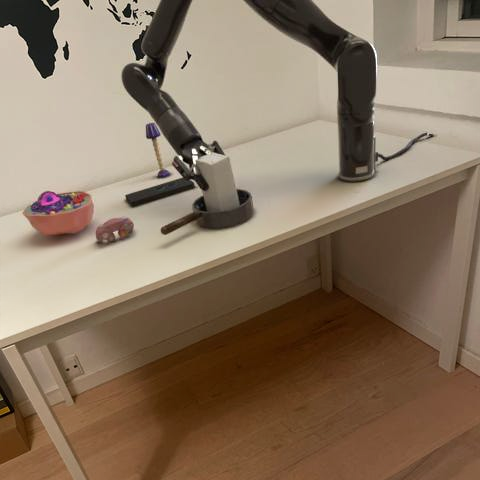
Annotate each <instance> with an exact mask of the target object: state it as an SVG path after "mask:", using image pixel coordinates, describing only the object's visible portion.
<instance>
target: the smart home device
mask: <svg viewBox="0 0 480 480" xmlns="http://www.w3.org/2000/svg"><path fill="white" fill-rule="evenodd" d="M195 188H196V187H195V181H193V180H189V181H186V180H185V179H184V178H183V177H180V178H176V179H174V180H170V181H166V182H164V183H163V182H162V183H160V184H156V185H153V186H150V187H147V188H143V189H140V190H136V191H132V192H130V193H127V194H125V195H124V197H125V201H126V202H127V203H128V204H129V205H130V206H131V207H132V208H135V207H139V206H142V205H145V204H147V203H152V202H156V201H158V200H160V199H164V198H167V197H170V196H173V195H177V194H180V193H184V192H186V191H190V190H193V189H195Z"/></svg>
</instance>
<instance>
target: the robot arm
mask: <svg viewBox="0 0 480 480" xmlns="http://www.w3.org/2000/svg"><path fill="white" fill-rule="evenodd" d="M193 1H194V0H160V1H159V2H158V5H157V7H156V10H155V11H154V14H153V16H152V18H151V20H150V22H149V25H148V26H147V30H146V32H145V34H144V36H143V39H142V41H141V45H140V46H141V47H140V48H141V51H142V53H143V54H144V55H145V56H146V58H145V63H144V64H142V63H138V62H130V63H127V64H126V65H124V67H123V68H122V70H121V74H120V75H121V82H122V86H123V88H124V90H125V91H126V93H127V94H128V95H129V96H130V97H131V98H132V99H133V100H134V101H135V102H136V103H137V104H138V105H139V106H140V107H141V108H142V109H144V111H146V112H147V113H148V114H149V116H150V118H151V119H152V120H153V121H154V123H155V124H156V126H157V128H158V130H159V131H160V133H161V134H162V136H163V137H164V138H165V139H166V141H167V142H168V144H169V145H170V147H171V148H172V149H173V151H174V152H175V153H176V155H175V156H174V157H173V160H172V162H171V165H172V167H173V168H174V169H175V170H176V171H177V172H178V174H179V175H180V176H181V178H184V179H185V180H186V181H189V180H191V181H193V182H194V183H196V185H197V186H198V188H199V189H200V190H201V191H202V190H203V191H207V190H208V188H209V185H208V183H207V182H206V181H205V179H204V178H203V176H202V175H201V174H200V175H199V169H198V164H197V162H196V159H198V158H200V157H203V156H205V155H208V154H210V153H217V154H221V155H225V156H227V155H226V153H225V152H224V150H223V149H222V147H221V145H220V144H219V142H218V141H217V140H213V142H212V143H209V144H208V143H206V142H205V141H204V139H203V138H202V135H201V133H200V132H199V130H198V129H197V128H196V126H194V124H193V122H192V120H191V119H189V117H188V116H187V115H186V113H185V112H184V111H183V110H182V109H181V108H180V106H179V105H178V104H177V102H176V101H175V99H173V97H172V96H171V95H170V93H168V92H167V91H165V90H163V89H162V87H163V84H164V81H165V77H166V72H167V67H168V62H169V58H170V56H171V53H173V50H174V47H175V46H176V43H177V41H178V39H179V37H180V35H181V32H182V30H183V28H184V24H185V21H186V18H187V15H188V13H189V10H190V8H191V5H192V3H193ZM242 1H243V2H244V3H245V4H246V5H247V6H248V7H249V8H250V10H252V11H253V12H254V13H255V14H256V15H257V16H258V17H260V18H261V19H262V20H263V21H265V22H266V23H268V25H270V26H271V27H273V29H275V30H277V31H278V32H280V33H282V34H283V35H284V36H286V37H288V38H289V39H291V40H294V41H295V42H297V43H299V44H301V45H303V46H306V47H307V48H309V49H310V50H312V51H314V52H315V53H317V54H318V55H319V56H320V57H321V58H323V60H324V61H325V62H327V64H329V65H330V66H331V67H332V68H333V70H335V72H336V73H337V74H336V75H337V100H336V114H337V115H336V116H337V117H336V118H337V119H336V121H337V143H338V144H337V145H338V147H337V148H338V170H339V171H338V178H339V179H340V180H342V181H345V182H361V181H366V180H368V179H371V178H372V177H374V176H375V172H376V163H377V162H379V158H380V159H381V160H383V161H388V160H392V159H394V158H396V157H398V156H400V155H401V154H403V153H404V152H406V151H407V150H409V149H410V147H411V146H412V145H413V143H416V142H417V141H419V140H420V139H422V138H424V137H426V136H429V137H430V138H432V137H433V138H434V137H435V135H434V133H432V134H429V135H427V132H428V131H426V132H422V133H421V134H419V135H417V136H416V137H414V138H413V139H411V140H410V141H409V142H408V144H407V145H406V146H404V147H403V148H401V149H400V150H399V151H397V152H395V153H394V154H392V155H389V156H385V155H384V154H382V153H379V152H378V151H376V148H377V147H376V145H377V143H376V142H377V141H376V136H375V99H376V96H377V95H376V94H377V76H378V75H377V71H378V64H377V63H378V60H377V51H376V50H375V48H374V46H373V44H372V43H370V42H369V41H368V40H366V39H363V38H362V37H360V36H358V35H355V34H353V33H352V32H350V31H348V30H346V29H345V28H343V27H342V26H340V25H338V24H337V23H336V22H334V20H332V19H330V18H329V16H327V15H326V14H325V13H324V11H323V10H322V9H321V8H320V7H319V6H318V5H317V4H316V3H315V2H314V1H313V0H242ZM186 164H187V165H188V167H187V165H186Z"/></svg>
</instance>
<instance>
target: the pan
mask: <svg viewBox="0 0 480 480" xmlns="http://www.w3.org/2000/svg"><path fill="white" fill-rule="evenodd" d="M236 190H237V195H238V200H239V204H240V206H238V207H235V208H232V209H229V210H225V211H219V212H207V208H206V204H205V200H204V196H203V195H200V196H199V197H197V198H196V199H195V200H193V202H192V204H191V208H192V212H196V211H201V216H202V217H200V218H198V219H197V220H195V221H194V222H195V224H197V225H198V226H199V227H201V228H203V229H208V230H224V229H229V228H233V227H236V226H239V225H242V224H244V223H245V222H247V221H248V220H250V219H251V218H252V216H253V215H254V212H255V209H254V201H253V195H252V193H251V192H250V191H248V190H246V189H242V188H236Z"/></svg>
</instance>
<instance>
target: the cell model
mask: <svg viewBox="0 0 480 480" xmlns="http://www.w3.org/2000/svg"><path fill="white" fill-rule="evenodd" d="M92 198H93V197H92V195H91V194H90V193H89V192H86V191H84V190H78V191H77V190H76V191H68V192H59V193H56V192H54V191H50V190H45V191H43V192H42V193H41V194H39V195H38V197H37V200H35V201H34V202H31V203H30V204H29V205H27V206H26V207H25V209H24V210H23V211H22V212H21V214H22V215H23V216H24V218H26V220H28V222H29V224H30V225H31V227H32V228H33V229H35V231H36V232H38V233H40V234H42V235H44V236H58V235H62V234H78V233H79V232H81V231H82V230H83V229H85V228H87V227H88V225H90V223H91V222H92V220H93V217H94V208H95V205H94V202H93V199H92Z"/></svg>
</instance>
